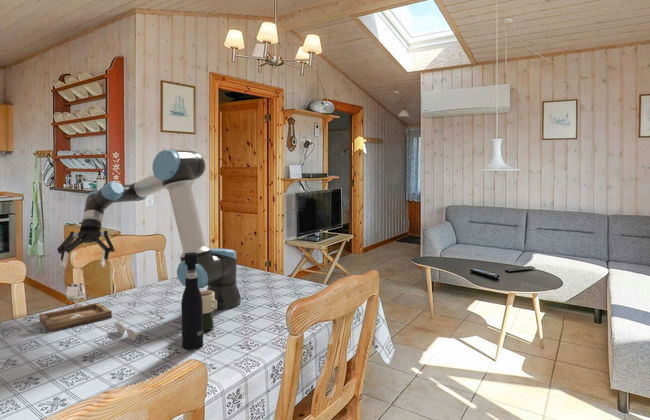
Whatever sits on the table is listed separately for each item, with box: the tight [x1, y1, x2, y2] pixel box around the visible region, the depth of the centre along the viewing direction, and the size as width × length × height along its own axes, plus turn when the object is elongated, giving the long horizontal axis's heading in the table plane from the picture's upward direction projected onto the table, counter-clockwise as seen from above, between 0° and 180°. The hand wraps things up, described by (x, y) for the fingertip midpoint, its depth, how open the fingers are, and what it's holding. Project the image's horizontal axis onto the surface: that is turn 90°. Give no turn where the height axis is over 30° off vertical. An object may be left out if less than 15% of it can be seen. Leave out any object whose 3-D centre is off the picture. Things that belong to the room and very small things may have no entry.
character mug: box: [200, 290, 218, 332], centre depth 148 cm, size 11×7×13 cm, turn 66°
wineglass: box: [66, 282, 86, 319], centre depth 156 cm, size 6×6×12 cm
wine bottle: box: [180, 252, 204, 351], centre depth 133 cm, size 6×6×30 cm
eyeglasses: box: [115, 313, 182, 342], centre depth 148 cm, size 15×18×4 cm
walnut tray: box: [39, 302, 113, 333], centre depth 156 cm, size 14×20×2 cm
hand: (83, 266), depth 165 cm, fingers open, 13 cm apart
